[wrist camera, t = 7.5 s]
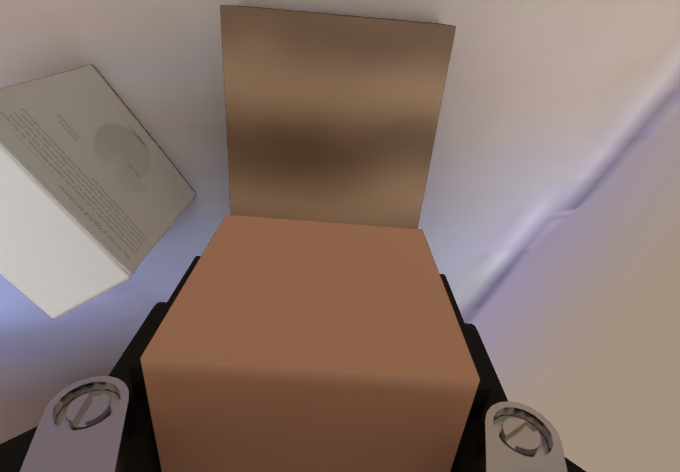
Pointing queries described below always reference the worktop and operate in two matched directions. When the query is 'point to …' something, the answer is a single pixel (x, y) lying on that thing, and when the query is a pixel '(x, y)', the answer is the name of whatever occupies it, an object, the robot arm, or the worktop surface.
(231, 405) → the terracotta cube
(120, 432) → the robot arm
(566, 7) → the worktop surface
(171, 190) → the skincare box
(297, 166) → the walnut stand
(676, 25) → the worktop surface
